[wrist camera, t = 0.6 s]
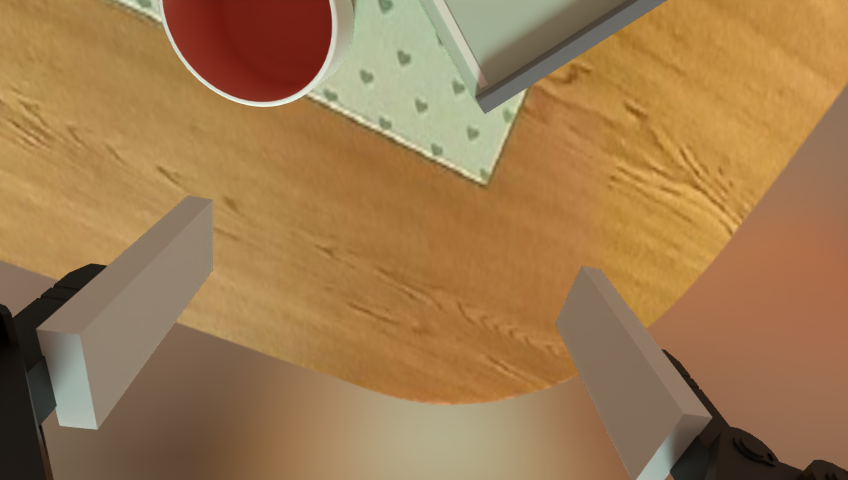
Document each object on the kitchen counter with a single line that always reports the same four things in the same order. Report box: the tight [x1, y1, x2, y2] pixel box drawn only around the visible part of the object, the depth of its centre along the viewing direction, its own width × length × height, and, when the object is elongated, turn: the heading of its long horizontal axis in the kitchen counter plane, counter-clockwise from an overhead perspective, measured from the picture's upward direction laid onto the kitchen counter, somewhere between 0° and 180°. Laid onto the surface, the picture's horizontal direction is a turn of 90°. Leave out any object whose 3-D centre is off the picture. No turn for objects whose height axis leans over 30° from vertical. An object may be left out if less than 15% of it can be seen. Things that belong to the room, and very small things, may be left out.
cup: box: [158, 0, 354, 107], centre depth 29 cm, size 10×10×10 cm
